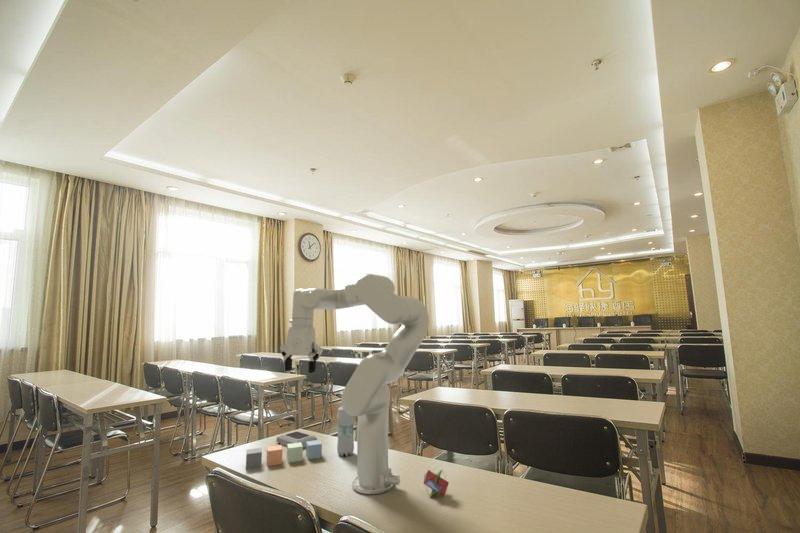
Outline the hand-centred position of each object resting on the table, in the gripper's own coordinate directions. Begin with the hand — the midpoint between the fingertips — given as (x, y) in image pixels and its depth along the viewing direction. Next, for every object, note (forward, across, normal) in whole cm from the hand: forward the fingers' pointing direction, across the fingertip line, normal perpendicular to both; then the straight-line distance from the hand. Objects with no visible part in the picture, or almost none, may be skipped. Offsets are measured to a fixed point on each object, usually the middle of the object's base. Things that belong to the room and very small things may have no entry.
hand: (299, 371), depth 132 cm
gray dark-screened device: (+34, -14, +22) cm, 43 cm away
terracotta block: (+33, -10, +2) cm, 34 cm away
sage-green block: (+33, -4, +6) cm, 34 cm away
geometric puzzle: (+30, +52, -6) cm, 60 cm away
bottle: (+32, +12, +16) cm, 38 cm away
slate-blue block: (+32, +1, +11) cm, 34 cm away
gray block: (+33, -15, -3) cm, 36 cm away
